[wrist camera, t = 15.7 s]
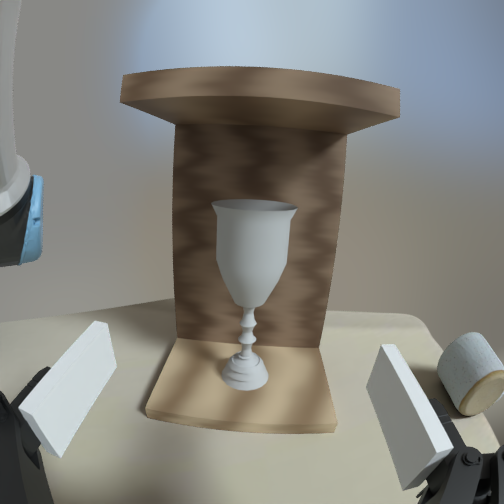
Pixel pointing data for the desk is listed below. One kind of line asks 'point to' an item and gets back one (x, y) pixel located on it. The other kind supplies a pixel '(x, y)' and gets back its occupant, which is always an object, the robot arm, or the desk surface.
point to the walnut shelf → (257, 188)
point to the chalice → (250, 271)
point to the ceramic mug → (471, 374)
